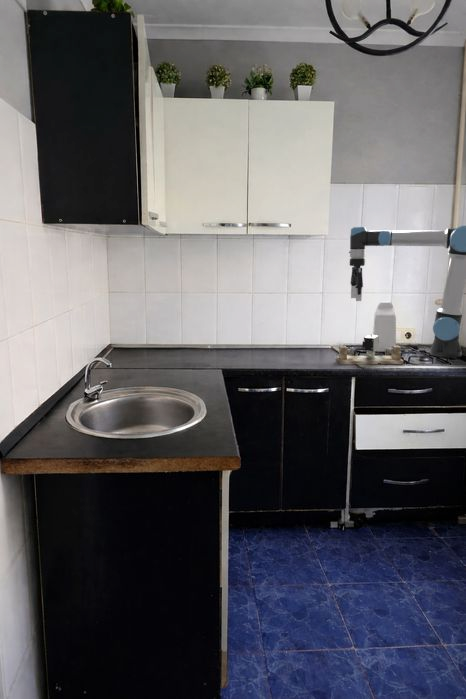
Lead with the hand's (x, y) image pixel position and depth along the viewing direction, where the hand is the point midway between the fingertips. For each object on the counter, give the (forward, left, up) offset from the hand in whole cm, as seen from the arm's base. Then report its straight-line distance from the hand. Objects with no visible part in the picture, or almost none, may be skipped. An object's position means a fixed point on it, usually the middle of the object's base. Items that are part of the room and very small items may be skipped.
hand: (356, 299), depth 265 cm
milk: (-18, -11, -29) cm, 36 cm away
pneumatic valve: (-4, +18, -27) cm, 33 cm away
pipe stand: (-4, +18, -29) cm, 34 cm away
